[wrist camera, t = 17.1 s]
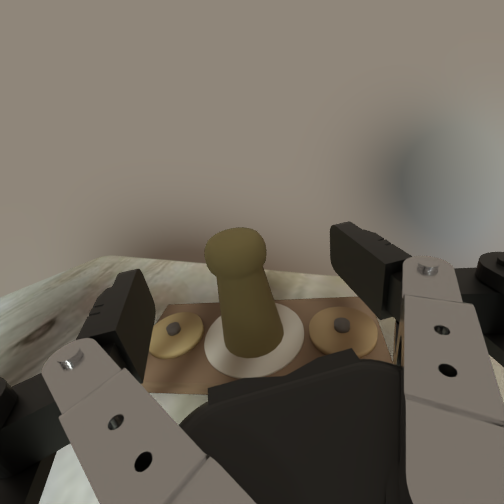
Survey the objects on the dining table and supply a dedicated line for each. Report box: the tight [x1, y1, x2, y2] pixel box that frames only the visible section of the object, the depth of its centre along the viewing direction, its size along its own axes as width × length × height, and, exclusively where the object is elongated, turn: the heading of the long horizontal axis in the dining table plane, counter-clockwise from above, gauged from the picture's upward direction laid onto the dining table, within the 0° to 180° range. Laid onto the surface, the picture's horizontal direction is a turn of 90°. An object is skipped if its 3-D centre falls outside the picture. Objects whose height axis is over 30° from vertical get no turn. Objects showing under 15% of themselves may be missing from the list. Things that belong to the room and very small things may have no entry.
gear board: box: [141, 297, 393, 395], centre depth 27 cm, size 24×11×3 cm, turn 81°
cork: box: [204, 227, 284, 358], centre depth 25 cm, size 6×6×11 cm
